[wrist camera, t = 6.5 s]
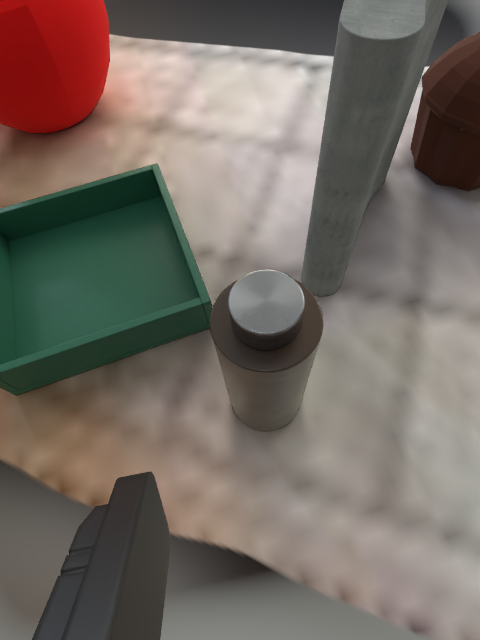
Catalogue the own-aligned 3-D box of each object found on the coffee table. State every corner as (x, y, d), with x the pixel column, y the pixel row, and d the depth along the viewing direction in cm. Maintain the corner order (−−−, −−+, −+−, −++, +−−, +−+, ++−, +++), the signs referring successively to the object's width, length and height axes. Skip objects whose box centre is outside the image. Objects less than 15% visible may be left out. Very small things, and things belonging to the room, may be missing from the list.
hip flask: (334, 301, 28) (444, -50, 11) (285, 284, 29) (314, -63, 12) (389, 170, 35) (513, -183, 17) (347, 160, 36) (425, -183, 18)
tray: (167, 194, 35) (157, 162, 32) (216, 325, 28) (210, 300, 25) (6, 243, 33) (-21, 214, 30) (15, 395, 26) (-19, 378, 23)
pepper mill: (283, 353, 27) (297, 237, 16) (312, 415, 24) (352, 330, 13) (221, 376, 26) (189, 272, 15) (244, 442, 24) (228, 376, 13)
